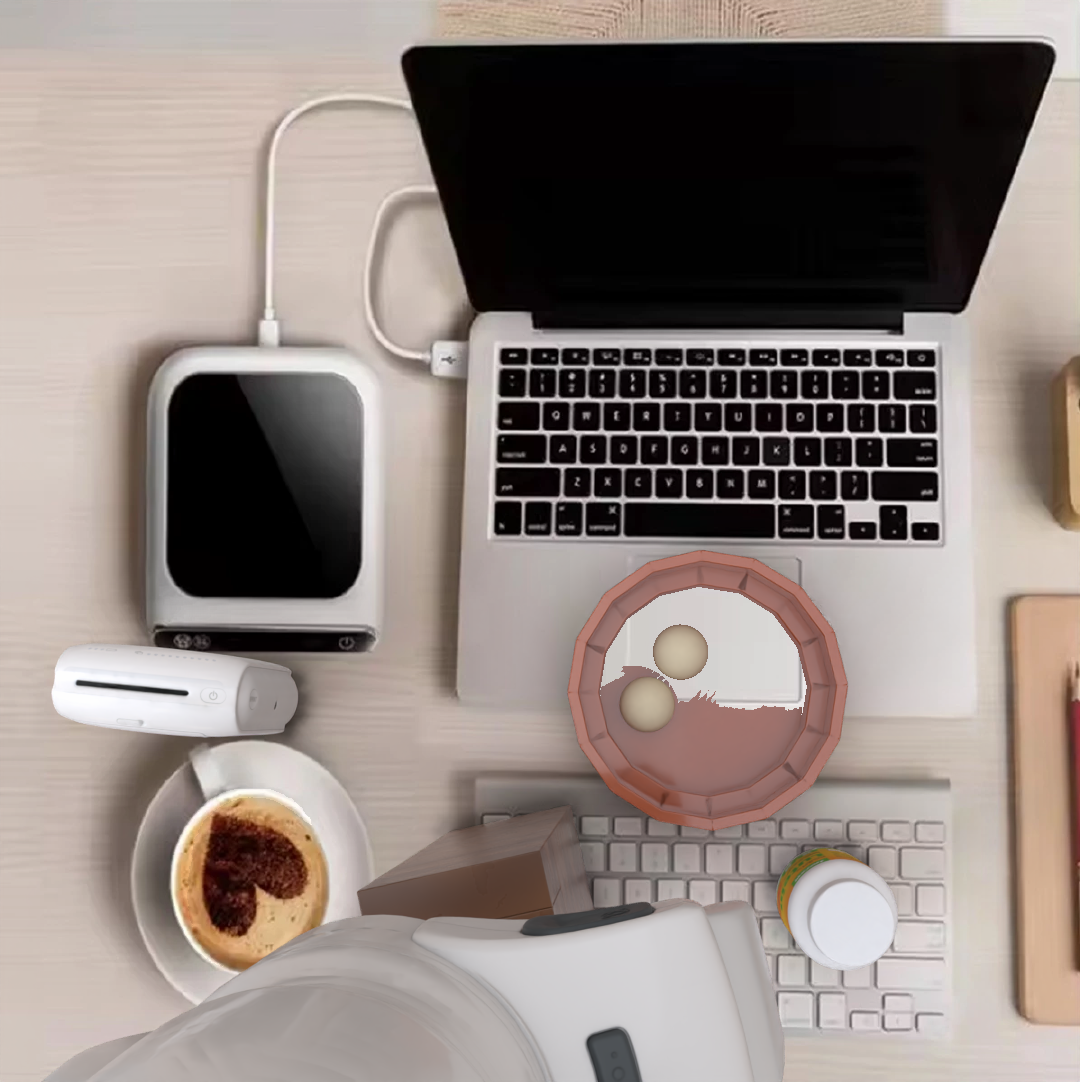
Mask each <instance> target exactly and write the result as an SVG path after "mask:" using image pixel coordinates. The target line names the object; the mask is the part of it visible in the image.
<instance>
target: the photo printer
mask: <svg viewBox="0 0 1080 1082" xmlns="http://www.w3.org/2000/svg"><path fill="white" fill-rule="evenodd" d="M292 672H293V671H292V670H291V669H290V668H289V667H286V666H283V665H281V664H277V663H274V662H270V661H264V660H259V659H254V658H248V657H241V656H235V655H229V654H221V653H213V652H204V651H197V650H187V649H179V648H171V647H170V648H169V647H159V646H148V645H135V644H120V643H104V642H93V643H92V642H91V643H82V644H75V645H71V646H68V647H67V648H65V649H64V650H63V652H62V653H61V654H60V656H59V657H58V660H57V661H56V665H55V668H54V680H53V686H52V688H51V692H50V693H51V699H52V700H51V701H52V703H53V707H54V709H55V711H56V712H57V713H58V715H59V716H61V717H64V718H66V719H68V720H71V721H73V722H76V723H79V724H84V725H88V726H93V727H99V728H106V729H114V730H121V731H128V732H129V731H130V732H136V733H137V732H138V733H146V734H147V733H148V734H155V735H156V734H158V735H169V736H178V737H179V736H180V737H193V738H194V737H195V738H196V737H198V738H211V737H212V738H213V737H215V738H221V737H222V738H223V737H239V736H240V737H241V736H262V735H263V736H264V735H275V734H276V735H277V734H281V733H283V732H284V731H285V727H286V725H287V724H288V723H289V722H290V721H291V720H292V718H293V717H294V715H295V713H296V710H297V708H298V703H299V690H298V687H297V685H296V681H295V680H294V678H293V677H292Z"/></svg>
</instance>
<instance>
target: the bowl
mask: <svg viewBox="0 0 1080 1082" xmlns="http://www.w3.org/2000/svg"><path fill="white" fill-rule="evenodd" d="M696 587H702V588H708V589H714V590H720V591H727V592H733V593H739V594H741V595H743V596H744V597H746V598H748V599H749V600H751V601H752V602H754V603H756V604H757V605H759V606H761V607H762V608H764V609H765V610H767V611H769V612H770V613H772V614H773V615H774V616H775V618H776V619H777V620H778V622H779V623H780V624H781V626H782V627H783V628H784V630H785V631H786V633H787V634H788V635H789V637H790V638H791V640H792V641H793V642H794V644H795V645H796V647H797V649H798V653H799V657H800V661H801V664H802V669H803V673H804V677H805V681H806V685H807V689H806V695H805V702H804V707H803V713H802V707H799V709H797V708H794V709H793V710H789V709H788V711H787V710H785V707H776V706H774V707H767V706H764V705H763V706H762V707H761V708H757V709H754V710H745V708H742V709H738V708H735V709H734V708H732V707H729V708H728V707H725V706H724V707H719V704H716V700H715V701H714V702H713V703H712V702H711V699H712V697H713V696H714V695H715V692H716V691H715V692H714V694H713V695H712V696H711V697H709V698H708V699H707V701H706V698H707V693H706V694H705V695H704V696H703V697H701V698H700V697H699V696H700V693H701V690H700V691H699V692H698V693H697V695H696V696H695V697H693V698H692V699H691V700H690V701H689V702H684V701H680V702H679V703H678V699H677V696H676V694H675V692H674V690H673V688H672V686H671V685H670V687H669V682H668V681H667V680H665V681H664V683H665V684H666V685H667V686H668V687H669V688H670V690H671V691H672V693H673V696H674V700H675V709H674V714H673V716H672V718H671V720H670V721H669V722H668V724H667V725H666V726H664V727H663V728H662V729H660V730H657V731H654V732H641V731H637V730H635V729H633V728H632V727H630V726H629V725H628V724H627V723H626V722H625V720H624V719H623V717H622V715H621V712H620V706H619V703H620V697H621V694H622V692H623V690H624V688H625V687H626V686H627V685H628V684H629V683H630V682H631V681H633V680H635V679H637V678H640V677H653V678H657V677H659V676H660V674H659V673H657V672H655V671H654V672H653V670H651V669H649V668H647V669H646V667H642V666H623V667H622V668H623V670H622V671H621V672H624V673H625V674H624V676H622V677H620V678H619V679H615V680H614V681H612V682H610V683H608V684H606V685H605V686H602V687H601V682H602V676H603V670H604V664H605V657H606V653H607V651H608V649H609V648H610V646H611V645H612V643H613V641H614V640H615V638H616V637H617V635H618V633H619V632H620V630H621V628H622V627H623V625H624V624H625V622H626V620H627V619H628V618H630V617H631V616H632V615H634V614H635V613H637V612H638V611H639V610H641V609H642V608H644V607H645V606H647V605H648V604H649V603H651V602H652V601H653V600H655V599H656V598H658V597H659V596H662V595H666V594H671V593H675V592H679V591H683V590H688V589H692V588H696ZM652 672H653V673H652ZM658 679H659V680H661V681H662V680H663V679H665V678H664V677H663V676H660V677H659V678H658ZM848 684H849V682H848V677H847V674H846V670H845V666H844V662H843V658H842V655H841V650H840V647H839V643H838V640H837V636H836V631H835V630H834V628H833V627H832V626H831V624H830V623H829V622H828V620H827V619H826V617H825V616H824V615H823V614H822V612H821V611H820V609H819V608H818V606H817V605H816V604H815V603H814V601H813V600H812V599H811V597H810V596H809V595H808V593H807V592H806V590H804V588H803V587H802V586H801V585H799V584H798V583H797V582H794V580H791V579H790V578H788V577H787V576H785V575H783V574H781V573H780V572H778V571H776V570H775V569H773V568H771V567H770V566H768V565H767V564H765V563H763V562H762V561H760V560H758V559H757V558H754V557H748V556H743V555H738V554H737V555H735V554H731V553H724V552H718V551H711V550H705V549H697V550H694V551H689V552H684V553H681V554H676V555H672V556H668V557H664V558H663V557H662V558H659V559H655V560H651V561H648V562H646V563H644V564H643V565H642V566H641V567H639V568H637V569H636V570H635V571H634V572H632V573H631V574H629V575H628V576H627V577H625V578H624V579H622V580H621V581H620V582H618V583H617V584H615V585H614V586H612V587H611V588H610V589H608V590H607V591H605V593H604V594H603V595H602V596H601V598H600V599H599V601H598V603H597V605H596V606H595V608H594V609H593V611H592V612H591V614H590V616H589V618H588V619H587V620H586V622H585V624H584V625H583V627H582V628H581V630H580V632H579V633H578V635H577V636H576V639H575V642H574V649H573V655H572V660H571V666H570V673H569V678H568V684H567V689H566V692H567V693H566V694H567V699H568V704H569V708H570V711H571V712H570V713H571V716H572V721H573V725H574V729H575V735H576V738H577V742H578V743H577V744H578V745H579V748H580V749H581V751H582V753H583V754H584V756H585V757H586V758H587V759H588V761H589V762H590V764H591V765H592V767H593V768H594V770H596V772H597V773H598V775H599V777H600V778H601V779H602V781H603V782H604V783H605V785H606V786H607V788H608V790H609V791H610V792H611V793H613V794H614V795H616V796H618V797H619V798H620V799H622V800H623V801H625V802H627V803H628V804H630V805H631V806H633V807H635V808H636V809H638V810H639V811H641V812H643V813H644V814H645V815H647V816H648V817H651V818H652V819H653V820H655V821H657V822H659V823H666V824H671V825H676V826H683V827H688V828H693V829H699V830H704V831H708V832H709V831H710V832H713V831H714V832H715V831H720V830H723V829H728V828H733V827H736V826H741V825H746V824H750V823H754V822H755V823H756V822H759V821H764V820H767V819H769V818H770V817H772V816H773V815H774V814H776V813H777V812H779V811H780V810H782V809H783V808H784V807H786V806H787V805H788V804H790V803H791V802H792V801H794V800H796V799H797V798H798V797H800V796H801V795H802V794H803V793H805V792H806V791H808V790H810V789H811V788H812V787H813V785H814V783H815V782H816V780H817V779H818V778H819V775H820V774H821V772H822V771H823V769H824V767H825V765H827V762H828V761H829V759H830V758H831V755H832V754H833V753H834V751H835V749H836V747H837V746H838V745H839V742H841V741H840V740H841V736H842V729H843V723H844V718H845V710H846V704H847V695H848V690H849V685H848ZM600 688H601V690H600ZM708 691H709V690H708ZM600 695H601V696H600ZM699 698H700V699H699ZM698 699H699V700H698ZM801 714H802V715H801Z"/></svg>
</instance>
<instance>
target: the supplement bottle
mask: <svg viewBox="0 0 1080 1082" xmlns="http://www.w3.org/2000/svg"><path fill="white" fill-rule="evenodd" d="M787 863H788V864H786V866H785V867H784V868H783V870H782V872H781V873H780V875H779V879H778V881H777V885H776V891H775V903H776V908H777V912H778V915H779V917H780V920H781V921H782V924H783V925H784V927H785V928H786V930H787V931H788V933H789V934H790V935H791V937H792V938H793V940H794V941H795V943H796V944H797V946H798V947H799V948H800V950H801V951H803V953H804V954H805V955H807V957H808V958H810V959H811V960H812V961H814V962H815V963H816V964H819V965H821V966H823V967H825V968H828V969H830V970H831V969H832V970H837V971H857V970H860V969H864V968H866V967H868V966H870V965H873V964H874V963H875V962H877V961H879V960H880V959H881V958H882V957H883V956H884V955H885V953H887V951H888V950H889V948H890V947H891V946H892V944H893V942H894V940H895V937H896V934H897V930H898V924H899V910H898V905H897V901H896V898H895V894H894V892H893V891H892V889H891V887H890V886H889V884H888V883H887V881H886V880H885V879H884V878H883V877H882V876H881V875H880V874H879V873H878V872H877V871H876V870H875V869H874V868H872V867H871V866H869V865H868V864H866V863H864V861H862V860H860V859H859V858H857V857H855V856H854V855H852V854H851V853H848V852H846V851H845V850H842V849H838V848H833V847H814V848H811V849H808V850H805V851H802V852H801V853H799V854H798V855H796V856H794V858H792V859H791V860H790V861H789V862H787Z"/></svg>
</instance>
